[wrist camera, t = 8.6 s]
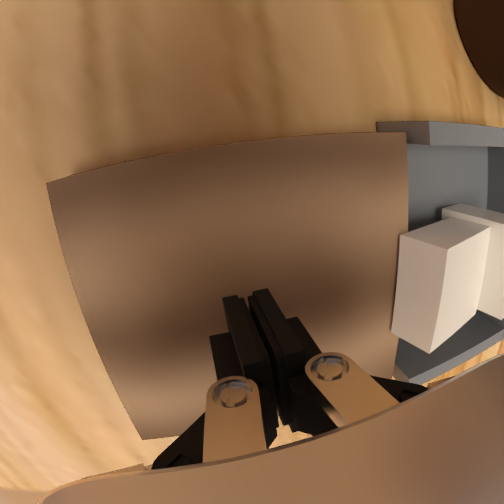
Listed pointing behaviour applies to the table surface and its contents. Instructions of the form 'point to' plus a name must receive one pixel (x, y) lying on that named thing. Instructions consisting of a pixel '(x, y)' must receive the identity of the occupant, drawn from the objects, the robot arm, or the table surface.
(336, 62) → the table surface
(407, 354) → the box
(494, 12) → the olive oil
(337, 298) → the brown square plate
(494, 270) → the tile
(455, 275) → the tile
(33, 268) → the table surface
